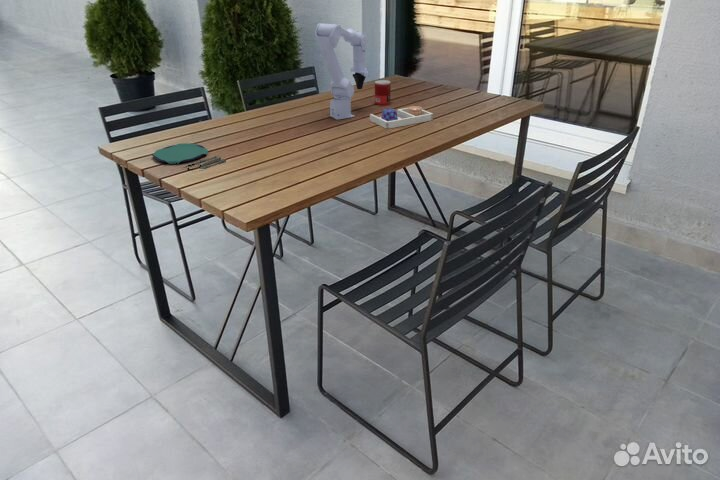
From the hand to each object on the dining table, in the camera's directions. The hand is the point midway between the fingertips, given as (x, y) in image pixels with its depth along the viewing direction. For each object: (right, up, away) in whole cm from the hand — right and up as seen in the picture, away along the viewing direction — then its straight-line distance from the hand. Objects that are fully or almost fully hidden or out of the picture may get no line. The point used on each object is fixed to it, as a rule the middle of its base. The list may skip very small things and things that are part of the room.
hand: (359, 88), depth 266 cm
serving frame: (+19, -18, -14) cm, 30 cm away
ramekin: (+26, -16, -10) cm, 32 cm away
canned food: (+12, -4, +14) cm, 18 cm away
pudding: (+14, -19, -13) cm, 27 cm away
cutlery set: (-67, -43, -54) cm, 96 cm away
